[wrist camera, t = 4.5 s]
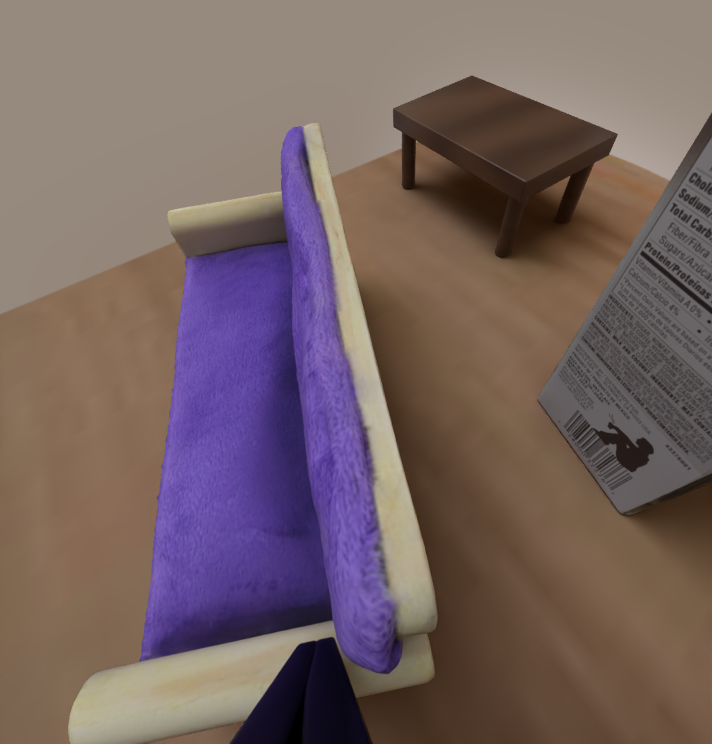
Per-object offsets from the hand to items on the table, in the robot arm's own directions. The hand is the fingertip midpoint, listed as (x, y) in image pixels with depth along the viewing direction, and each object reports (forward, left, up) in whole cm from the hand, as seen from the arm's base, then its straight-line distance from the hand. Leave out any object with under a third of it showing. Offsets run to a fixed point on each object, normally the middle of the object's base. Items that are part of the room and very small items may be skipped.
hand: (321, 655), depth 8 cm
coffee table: (+18, -22, -7) cm, 29 cm away
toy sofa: (+9, -2, -8) cm, 12 cm away
